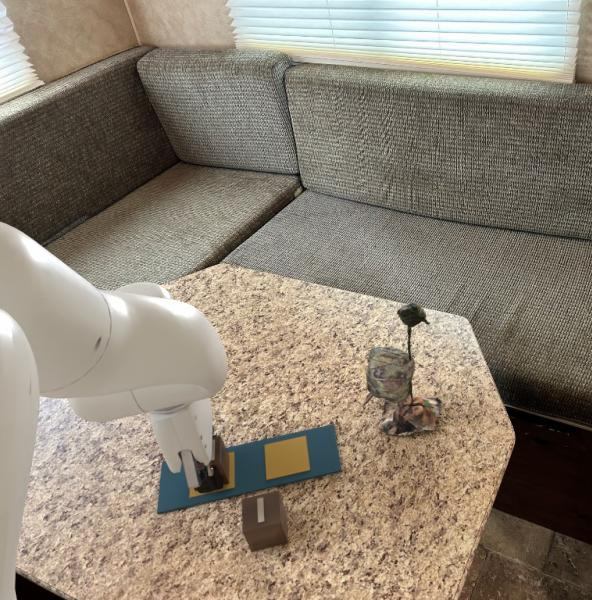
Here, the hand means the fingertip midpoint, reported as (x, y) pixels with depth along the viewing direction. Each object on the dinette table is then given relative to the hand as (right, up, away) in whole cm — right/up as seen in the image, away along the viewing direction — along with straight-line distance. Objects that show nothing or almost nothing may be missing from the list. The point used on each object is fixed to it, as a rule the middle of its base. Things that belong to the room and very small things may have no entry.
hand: (211, 471), depth 81 cm
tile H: (0, 0, 0) cm, 0 cm away
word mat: (+5, 0, +1) cm, 5 cm away
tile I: (+9, -5, -6) cm, 12 cm away
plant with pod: (+26, +6, +6) cm, 27 cm away
